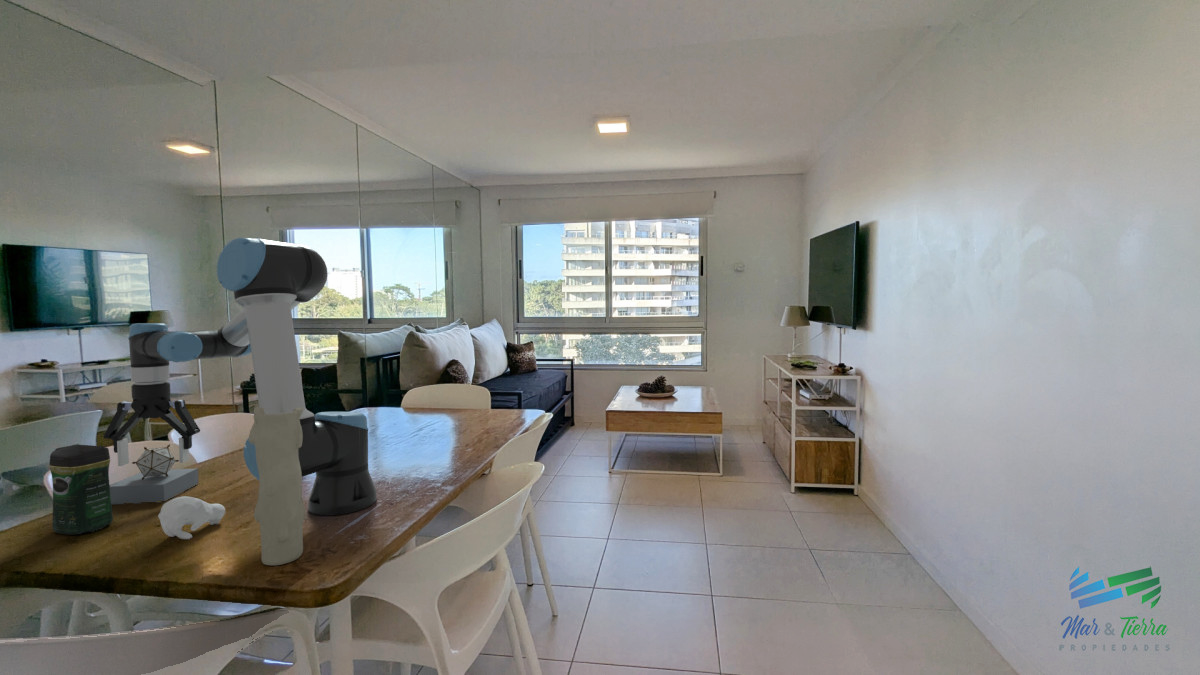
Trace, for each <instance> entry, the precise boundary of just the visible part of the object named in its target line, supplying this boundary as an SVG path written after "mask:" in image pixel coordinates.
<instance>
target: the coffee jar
mask: <svg viewBox="0 0 1200 675" xmlns="http://www.w3.org/2000/svg"><path fill="white" fill-rule="evenodd" d="M110 463H111V455H110V450H109V448H108V447H106V446H103V445H90V444H89V445H88V444H79V443H76V444H72V445H71V444H70V445H66V446H61V447H57V448H55V449H54V451H53V450H52V452H51V453H50V455H49V464H48V465H49V466H48V467H49V471H50V474H51V479H52V531H53V532H54V533H56V534H61V535H62V534H63V535H71V536H72V535H80V534H83V533H84V534H85V533H88V532H95V530H96V531H98V529H99V530H101V529H103V528H105V527H107V526H109V525H110V524H111V523H113V519H114V517H113V516H114V515H113V506H112V505H113V504H111V496H110V485H111V484H110V474H109V473H110V472H109V471H110V470H109V469H110Z"/></svg>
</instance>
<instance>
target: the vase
mask: <svg viewBox="0 0 1200 675" xmlns="http://www.w3.org/2000/svg"><path fill="white" fill-rule="evenodd" d="M302 412H303V408H302V407H297V408H295V409H294V410H293V412H289V413H282V414H265V412H264V409H263V408H260V407H259V406H255V407H254V408H253V420H254V421H253V424H252V426H251V428H250V431H249V434H248V438H249V442H250V443H252V444H254V445H255V450H256V462H257V467H258V472H259V479H260V481H259V484H258V486H259V487H258V493H257V502H256V505H255V509H254V512H253V518H254V520H255V521H256V522H257V523H259V530H260V531H259V532H260V545H261V546H260V549H261V550H260V551H261V562H262V564H263V565H266V566H279V565H284V564H289V563H291V562H294V561H296V560H298V559H299V558H300V557H301V556H302V554H303V552H304V542H303V541H304V540H303V537H304V536H303V524H304V521H305V519H306V508H305V503H304V500H303V486H302V482H303V481H302V480H303V477H302V474H301V467H300V462H299V456H298V449H299V448H300V447H301V446H302V440H303V434H302V428H301V425H300V420H299V419H300V416H301V414H302Z"/></svg>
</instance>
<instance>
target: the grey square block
mask: <svg viewBox="0 0 1200 675" xmlns="http://www.w3.org/2000/svg"><path fill="white" fill-rule="evenodd" d="M167 474H168V477H167V476H166V475H156V476H148V477H145V478H144V479H143V480H142V477H144V476H143V474H142V473H141V472H138V473H136V474H134V475H130V476H128V477H127V478H124V479H121V480H119V481H117V482H114V483H111V484H109V485H110V496H111V504H112V505H125V504H124V503H133V504H142V503H141V502H156V503H158V502H157V501H166V500H168V499H170V498H172V497H174V496H175V495H177V494H179V493H181V492H183V491H185V490H187V489H189V488H191V487H193V486H195V485H196V484H198V483H199V482H200V481H199V468H175V469H174V468H170V470H169V471H168V472H167ZM195 487H196V486H195ZM193 488H194V487H193ZM191 489H192V488H191ZM189 490H190V489H189ZM187 491H188V490H187ZM185 492H186V491H185ZM183 493H184V492H183ZM181 494H182V493H181ZM179 495H180V494H179ZM177 496H178V495H177ZM175 497H176V496H175ZM175 497H174V498H175ZM172 499H173V498H172ZM170 500H171V499H170ZM168 501H169V500H168ZM166 502H167V501H166Z"/></svg>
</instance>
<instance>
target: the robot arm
mask: <svg viewBox="0 0 1200 675" xmlns="http://www.w3.org/2000/svg"><path fill="white" fill-rule="evenodd" d="M327 267H328V266H327V264H326V262H325V260H324V259H323V257H322V256H321V255H320V254H319V253H318V252H317V251H316V250H315V249H313V248H312V247H309V246H307V245H304V244H300V243H299V244H298V243H290V242H282V241H276V240H269V239H263V238H260V237H254V238H253V237H237V238H233V239H231V240H230V241H228V242H227V244H225V246H224V247H223V249H222V251H221V252H220V254H219V256H218V259H217V264H216V275H217V279H218V282H219V283H220V285H221V286H222V288H224V289H225V290H226V291H229V292H233V296H234V297H233V298H234V302H235V303H236V304H238V305H239V306H241V307H243V309H242V310H240V312H238V313H237V314H236V315H234V317H232V318H231V319H230V320H229V321H228V322H227V323H225V324H224V325H223V326H222V327H221V328H220V329H215V330H214V329H213V330H209V329H207V330H184V331H183V330H181V331H178V330H176V331H173V330H172V331H169V329H168V328H169V326H168V325H167V324H166V323H163V322H162V323H161V322H160V323H159V322H154V323H153V322H152V323H148V322H147V323H146V322H145V323H143V322H142V323H140V322H139V323H131V325H130V326H129V330H128V333H129V334H128V335H129V336H128V338H127V339H128V344H129V358H130V359H129V360H130V382H131V383H133V384H132V385H131V388H130V389H131V398H132V402H131V401H129V400H125V401H121V402H118V403H117V406H116V412H115V414H114V415H113V418H112V419H111V421H110V423H109V425H108V427H107V428H106V430H105V432H104V434H103V438H104V439H105V440H106V439H109V440H111V441H113V452H114V454H116V453H117V467H123V466H125V465H127V464H130V460H129V459H130V458H129V438H127V437H126V435H128V433H129V432H130V431H132V429H133V428H134V427H135V426H136V425H137V424H138V423H139V422H140V421H141V420H142V419H145V420H147V419H159V418H160V419H161V420H163V421H165V423H166V424H168V425H169V426H170V427H171V428H172V429H173V430H175V432H177V433H178V434H179V435H180V436H181V437H178V450H179V451H178V453H179V454H178V455H179V457H178V458H179V464H183V463H185V462H187V461H189V460H190V453H189V452H190V449H191V448H193V435H196V434H199V433H200V432H201V428H200V427H199V426H198V424H197V423H196V421H195V419H194V418H193V415H191V413H190V412H189V410H188V408H187V407H186V401H185V400H184V399H182V398H181V399H177V400H173V401H172V400H171V383H170V381H169V380H170V379H171V376H170V374H171V373H170V362H173V363H184V362H191V361H195V360H205V359H207V360H208V359H220V358H221V359H222V358H238V357H242V356H247V355H250V354H251V355H250V356H251V361H252V366H253V367H252V368H253V373H254V381H255V388H256V393H257V394H256V395H257V400H258V401H257V402H258V407H260V408H263V409H264V412H265V414H282V413H289V412H293V410H294V409H295V408H297V407H302V408H303V412H302V414H301V416H300V419H299V420H300V425H301V428H302V434H303V440H302V446H301V447H300V448H299V449H298V456H299V462H300V467H301V474H302V478H303V477H306V476H308V475H312V474H315V479H314V482H313V485H312V488H311V491H310V494H309V497H308V501H307V502H308V512H310V513H311V514H314V515H318V516H340V515H345V514H351V513H354V512H355V513H356V512H358V511H361V510H365V509H366V508H369V507H370V506H372V505H373V504H375V502H376V501H377V488H376V487H375V483H374V481H373V479H372V476H371V473H370V470H369V427H368V420H367V419H368V418H367V416H366V415H365V414H364V413H361V412H354V411H321V412H317V413H315V414H314V413H313V412H312V411H310V410H308V409H307V408H306V403H305V397H304V390H303V389H304V388H303V383H302V382H303V381H302V375H301V368H300V362H299V357H298V356H299V355H298V348H297V341H296V335H295V328H294V322H293V315H292V310H293V309H295V307H297V306H298V305H299V304H301V303H302V304H303V303H308V302H310V301H311V300H313V299H314V298H315V297H317V295H319V293H321V291H322V290H323V289H324V288H325V285H326V283H327V281H328V274H329V273H328V268H327ZM171 407H172V409H175V412H176V414H177V415H178V416H179V418H180V419H179V418H178V417H177V416H176V415H175V413H174V412H173V411H172V410H171ZM131 409H132V410H133V411H134V412H133V414H132V415H131V416H130V417H129V419H127V420H126V422H125V423H124V424H123V422H124V420H125V419H126V416H127V415H128V413H129V411H130V410H131ZM122 424H123V425H122ZM121 425H122V426H121ZM243 458H244V463H245V465H246V467H247V469H248V471H249V472H250V474H251V475H252V476H253V477H254V478H255V479H256V480H257V481H259V482H260V479H259V472H258V467H257V462H256V450H255V445H254V444H252V443H250V442H249V437H248V438H247V439H246V440H245V443H244V446H243Z"/></svg>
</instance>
